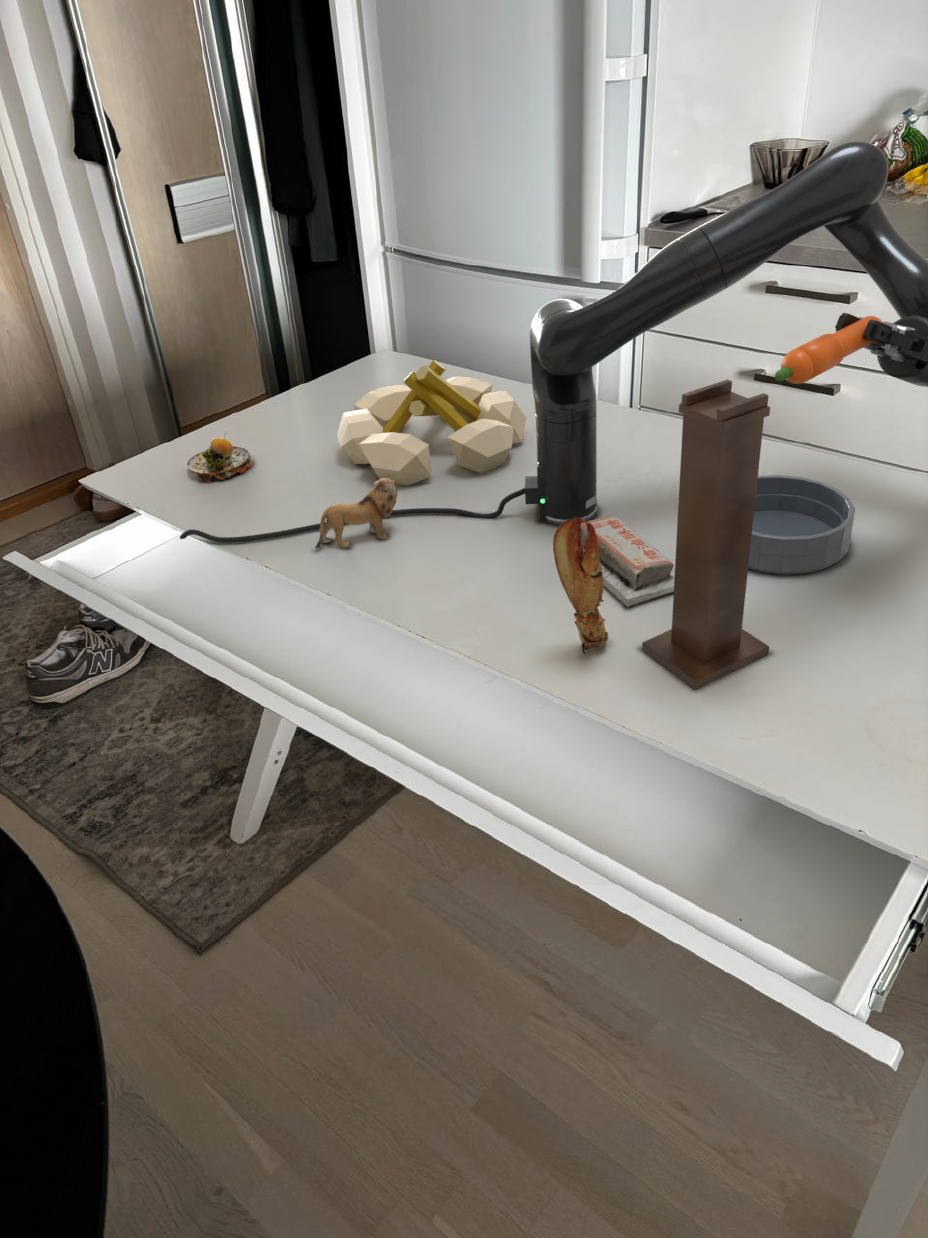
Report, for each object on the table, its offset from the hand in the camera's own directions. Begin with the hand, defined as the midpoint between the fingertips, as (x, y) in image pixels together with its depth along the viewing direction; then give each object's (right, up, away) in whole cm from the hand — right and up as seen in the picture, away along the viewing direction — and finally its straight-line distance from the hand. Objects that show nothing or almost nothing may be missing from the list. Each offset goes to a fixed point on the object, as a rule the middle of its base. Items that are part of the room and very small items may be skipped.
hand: (855, 325), depth 108 cm
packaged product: (-21, -26, +30) cm, 45 cm away
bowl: (+2, -22, +33) cm, 40 cm away
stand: (-14, -38, +12) cm, 42 cm away
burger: (-90, -5, +71) cm, 115 cm away
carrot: (-3, -5, 0) cm, 5 cm away
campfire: (-50, -1, +71) cm, 87 cm away
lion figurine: (-61, -20, +44) cm, 78 cm away
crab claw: (-29, -37, +15) cm, 50 cm away
